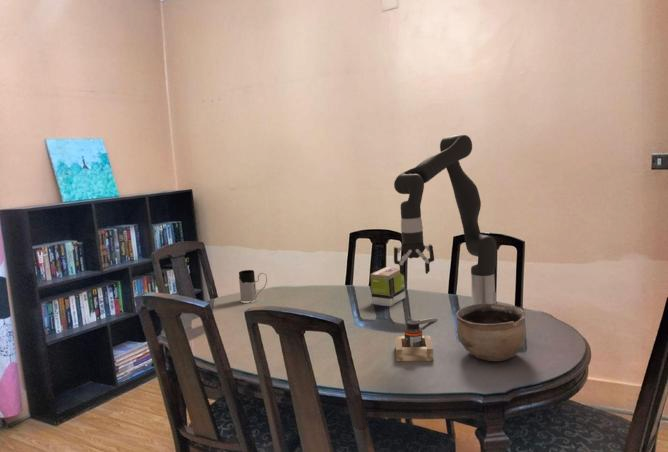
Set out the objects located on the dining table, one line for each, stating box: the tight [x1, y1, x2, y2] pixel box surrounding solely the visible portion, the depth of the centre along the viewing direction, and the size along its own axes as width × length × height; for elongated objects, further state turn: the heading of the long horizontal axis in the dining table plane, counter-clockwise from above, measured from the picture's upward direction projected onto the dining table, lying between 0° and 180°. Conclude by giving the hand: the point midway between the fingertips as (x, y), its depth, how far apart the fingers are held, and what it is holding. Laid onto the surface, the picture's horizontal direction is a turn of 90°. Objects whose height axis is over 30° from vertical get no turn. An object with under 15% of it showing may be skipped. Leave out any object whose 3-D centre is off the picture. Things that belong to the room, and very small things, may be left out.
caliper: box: [408, 317, 439, 326], centre depth 191 cm, size 20×1×6 cm, turn 137°
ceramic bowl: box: [455, 303, 527, 362], centre depth 159 cm, size 22×22×15 cm
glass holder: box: [238, 269, 268, 301], centre depth 242 cm, size 9×14×15 cm, turn 96°
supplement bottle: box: [404, 319, 423, 347], centre depth 165 cm, size 6×6×11 cm
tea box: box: [370, 266, 406, 307], centre depth 227 cm, size 15×10×15 cm
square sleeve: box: [394, 335, 434, 362], centre depth 166 cm, size 12×12×4 cm
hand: (414, 274), depth 176 cm, fingers open, 8 cm apart
